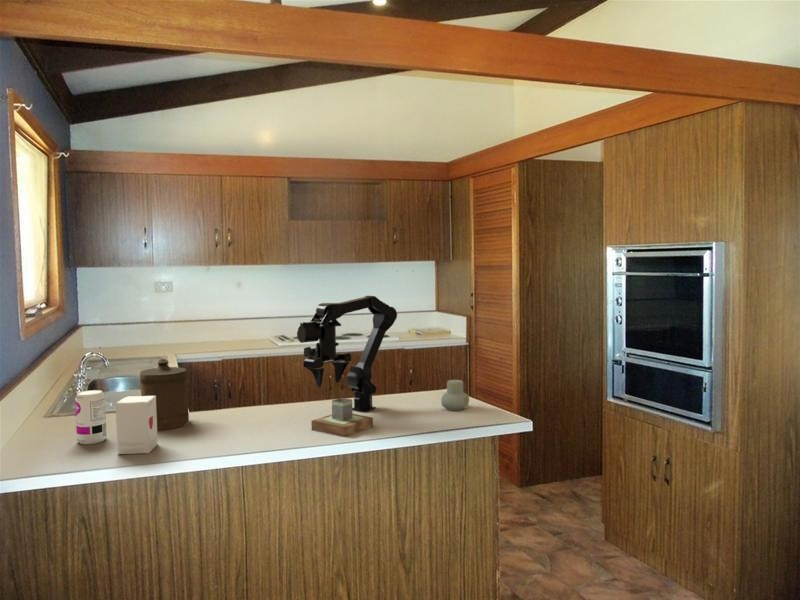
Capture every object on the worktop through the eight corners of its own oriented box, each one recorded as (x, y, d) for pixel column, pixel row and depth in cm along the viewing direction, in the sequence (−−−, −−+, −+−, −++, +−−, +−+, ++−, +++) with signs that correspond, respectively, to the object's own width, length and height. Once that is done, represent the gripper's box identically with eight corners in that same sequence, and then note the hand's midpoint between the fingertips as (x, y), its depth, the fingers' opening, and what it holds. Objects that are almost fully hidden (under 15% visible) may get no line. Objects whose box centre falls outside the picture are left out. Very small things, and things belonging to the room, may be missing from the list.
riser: (340, 420, 215) (340, 410, 215) (373, 426, 207) (372, 416, 207) (311, 429, 204) (311, 420, 204) (344, 436, 196) (344, 426, 196)
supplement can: (76, 446, 190) (73, 396, 189) (78, 439, 197) (75, 391, 196) (106, 442, 193) (104, 393, 192) (107, 435, 200) (104, 388, 199)
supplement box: (149, 453, 182) (147, 402, 180) (116, 455, 181) (114, 403, 180) (158, 444, 191) (156, 395, 190) (127, 445, 190) (125, 395, 189)
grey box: (341, 415, 209) (341, 397, 208) (352, 417, 206) (352, 399, 205) (332, 418, 205) (331, 400, 204) (343, 421, 202) (342, 402, 202)
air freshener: (448, 404, 236) (448, 377, 235) (470, 406, 233) (470, 379, 232) (439, 411, 226) (439, 383, 225) (462, 413, 223) (462, 385, 222)
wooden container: (166, 416, 223) (163, 354, 222) (198, 421, 217) (196, 357, 215) (131, 427, 210) (128, 361, 208) (164, 432, 203) (161, 364, 202)
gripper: (328, 335, 231) (329, 377, 232) (291, 341, 216) (292, 386, 217) (351, 337, 225) (352, 381, 226) (315, 343, 210) (316, 390, 211)
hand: (328, 384), depth 220 cm, fingers open, 9 cm apart
